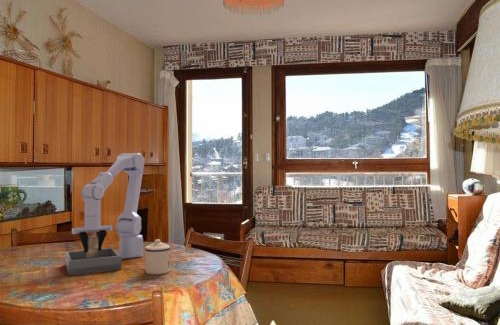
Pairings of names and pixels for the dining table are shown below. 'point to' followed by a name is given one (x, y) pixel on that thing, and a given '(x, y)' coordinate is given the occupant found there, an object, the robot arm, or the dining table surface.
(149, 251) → the teacup with lid
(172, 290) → the dining table surface
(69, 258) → the box
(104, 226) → the robot arm
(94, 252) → the peg
